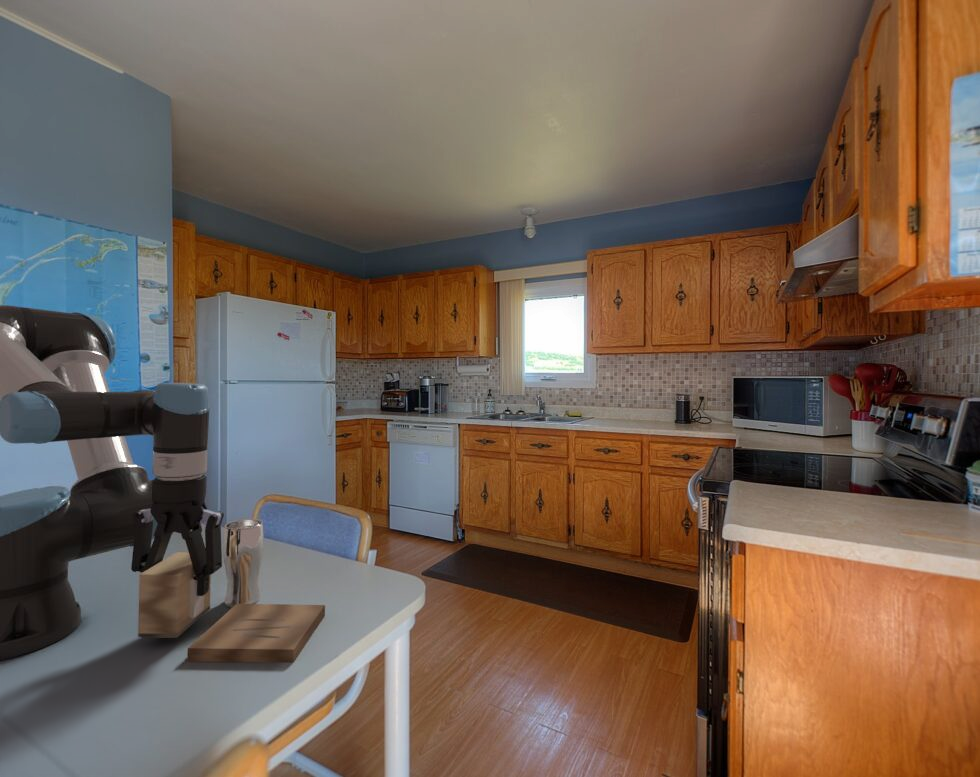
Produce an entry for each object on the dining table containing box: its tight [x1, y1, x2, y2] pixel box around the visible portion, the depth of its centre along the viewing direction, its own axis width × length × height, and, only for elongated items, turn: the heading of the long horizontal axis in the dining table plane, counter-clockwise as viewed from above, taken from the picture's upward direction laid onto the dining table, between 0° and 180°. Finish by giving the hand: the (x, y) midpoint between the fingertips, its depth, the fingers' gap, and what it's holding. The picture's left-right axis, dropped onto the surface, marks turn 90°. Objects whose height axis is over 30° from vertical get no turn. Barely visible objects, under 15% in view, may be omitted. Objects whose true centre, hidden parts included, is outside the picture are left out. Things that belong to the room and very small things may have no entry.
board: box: [186, 603, 326, 664], centre depth 77 cm, size 16×14×2 cm
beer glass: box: [222, 518, 265, 609], centre depth 89 cm, size 7×7×15 cm
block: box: [137, 551, 212, 639], centre depth 77 cm, size 6×9×10 cm, turn 2°
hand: (176, 612), depth 77 cm, fingers closed on block, 6 cm apart
